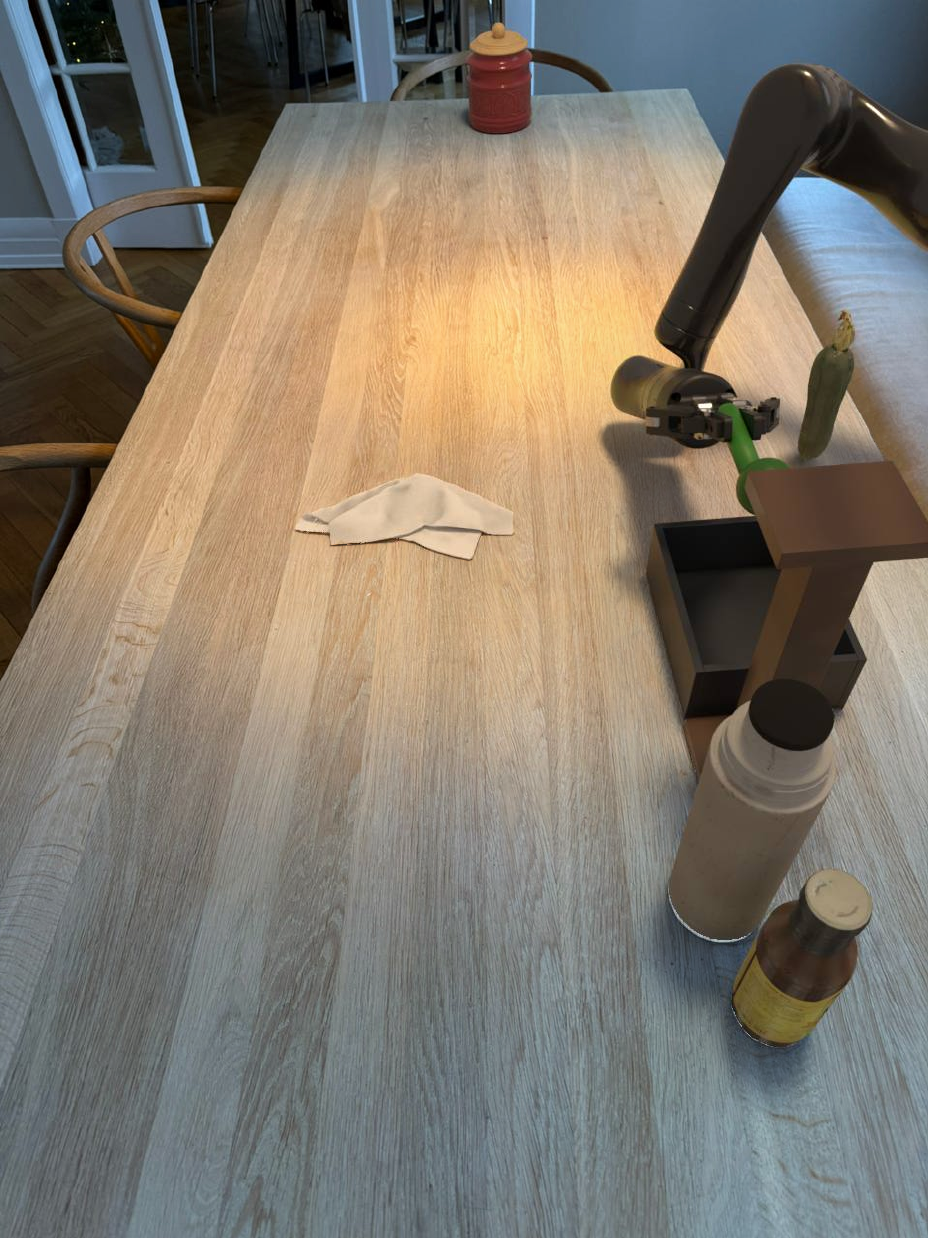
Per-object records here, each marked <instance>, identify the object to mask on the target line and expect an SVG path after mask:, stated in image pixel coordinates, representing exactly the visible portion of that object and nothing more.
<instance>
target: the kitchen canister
mask: <svg viewBox="0 0 928 1238" xmlns="http://www.w3.org/2000/svg"><path fill="white" fill-rule="evenodd" d="M528 44H529V42H528V40H527V39H526V38H525V37H523V36H522V35H521V34H520V33H519V32H517V31H514V30H511V29H510V30H509V29H506V27H505V25H504V24H503V23H502V22H495V23H494V24H493V25H492V28H491V30H487V31H483V32H482V33H479V34H478V35H477V37H476V38H474V39H473V40H472V41H471V42H470V43H469V48H470V50H471V52H470V53H468V55H467V56H466V57H465V58H466V59H465V62H466V64H467V65H468V69H469V70H468V75H466V76H467V77H466V81H467V89H468V90H467V91H468V110H467V111H468V119H469V124H470V126H471V127H472V128H473V129H474V130H476V131H479V132H483V133H486V134H508V133H513V132H517V131H519V130H522V129H524V128H525V127H527V126H528V125H529V124H530V123H531V118H532V113H533V111H532V110H533V107H532V79H533V74H532V71H531V69H530V62H531V61H532V59H533V54H532V53H531V52H530V50H529V49H527V47H528Z"/></svg>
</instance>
